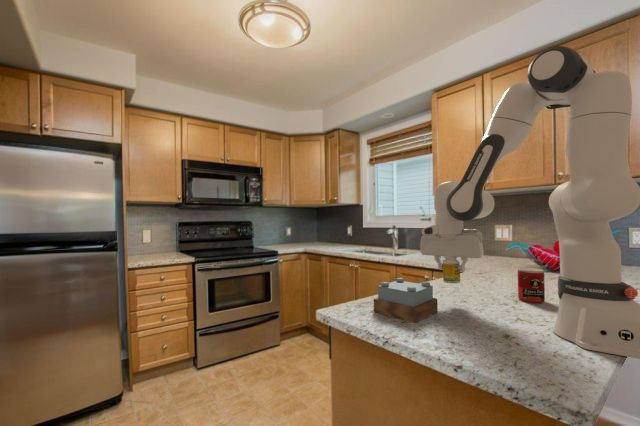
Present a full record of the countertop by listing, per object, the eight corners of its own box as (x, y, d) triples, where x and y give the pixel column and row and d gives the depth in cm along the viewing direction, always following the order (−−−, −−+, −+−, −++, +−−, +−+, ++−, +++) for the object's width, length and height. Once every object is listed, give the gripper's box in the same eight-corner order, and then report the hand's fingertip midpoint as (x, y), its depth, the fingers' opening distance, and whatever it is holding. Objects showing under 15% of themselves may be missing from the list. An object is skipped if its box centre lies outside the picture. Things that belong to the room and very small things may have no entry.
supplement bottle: (447, 280, 105) (446, 252, 106) (463, 281, 102) (461, 253, 102) (440, 282, 102) (439, 254, 102) (456, 284, 98) (455, 254, 98)
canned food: (522, 302, 102) (522, 270, 102) (514, 296, 110) (514, 266, 110) (549, 304, 100) (548, 271, 100) (539, 298, 108) (538, 267, 108)
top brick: (432, 298, 93) (432, 282, 93) (413, 306, 85) (413, 289, 85) (398, 292, 102) (398, 277, 102) (378, 298, 93) (378, 282, 93)
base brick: (437, 311, 93) (437, 298, 93) (415, 322, 83) (415, 308, 83) (397, 302, 103) (397, 291, 103) (373, 311, 93) (373, 298, 93)
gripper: (485, 228, 97) (487, 271, 97) (425, 229, 112) (427, 266, 111) (479, 229, 93) (481, 274, 92) (417, 229, 107) (419, 268, 107)
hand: (451, 269), depth 102 cm, fingers closed on supplement bottle, 5 cm apart
